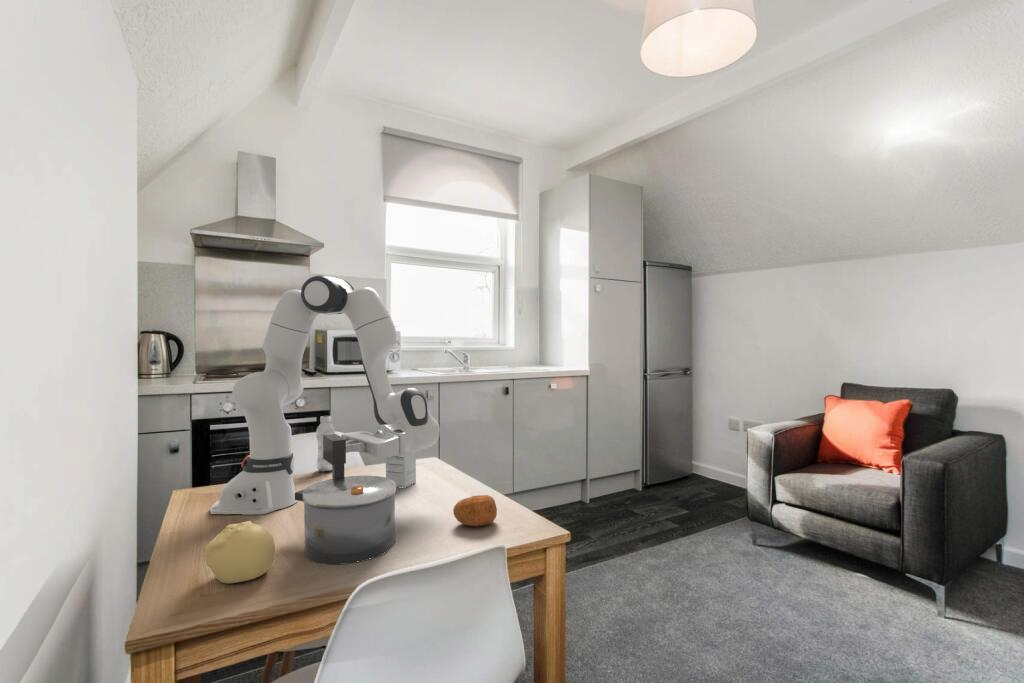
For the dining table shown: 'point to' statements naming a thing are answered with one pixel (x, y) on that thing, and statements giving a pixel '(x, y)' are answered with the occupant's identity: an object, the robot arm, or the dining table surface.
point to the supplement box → (402, 469)
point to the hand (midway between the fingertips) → (341, 448)
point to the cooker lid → (345, 482)
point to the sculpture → (240, 552)
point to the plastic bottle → (322, 429)
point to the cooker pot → (348, 531)
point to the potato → (476, 510)
